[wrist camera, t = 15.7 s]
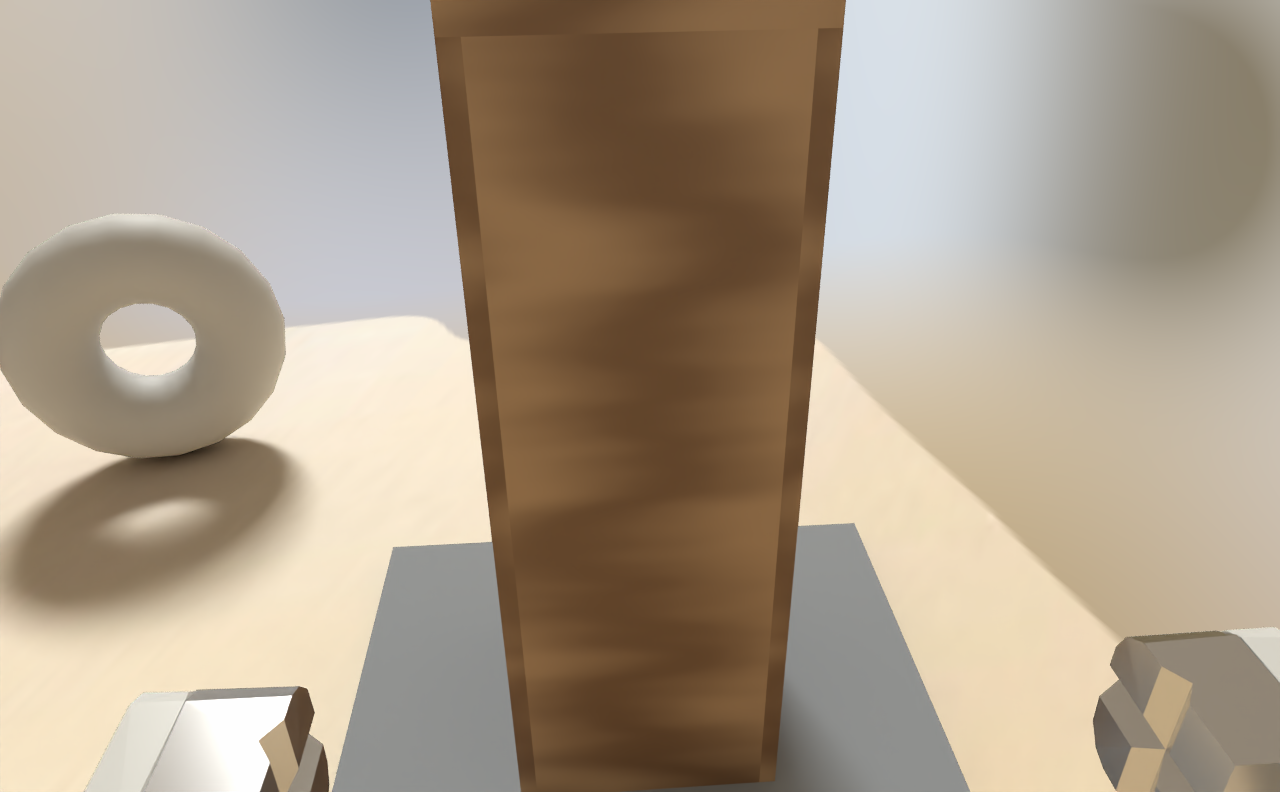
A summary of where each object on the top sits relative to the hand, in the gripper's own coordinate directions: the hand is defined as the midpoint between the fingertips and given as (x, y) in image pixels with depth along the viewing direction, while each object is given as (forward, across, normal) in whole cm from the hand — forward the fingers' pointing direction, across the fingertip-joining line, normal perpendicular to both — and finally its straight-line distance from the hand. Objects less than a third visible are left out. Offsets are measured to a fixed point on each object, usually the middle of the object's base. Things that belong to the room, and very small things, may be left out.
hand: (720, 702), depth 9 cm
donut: (+27, -18, -14) cm, 35 cm away
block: (+12, 0, -13) cm, 18 cm away
